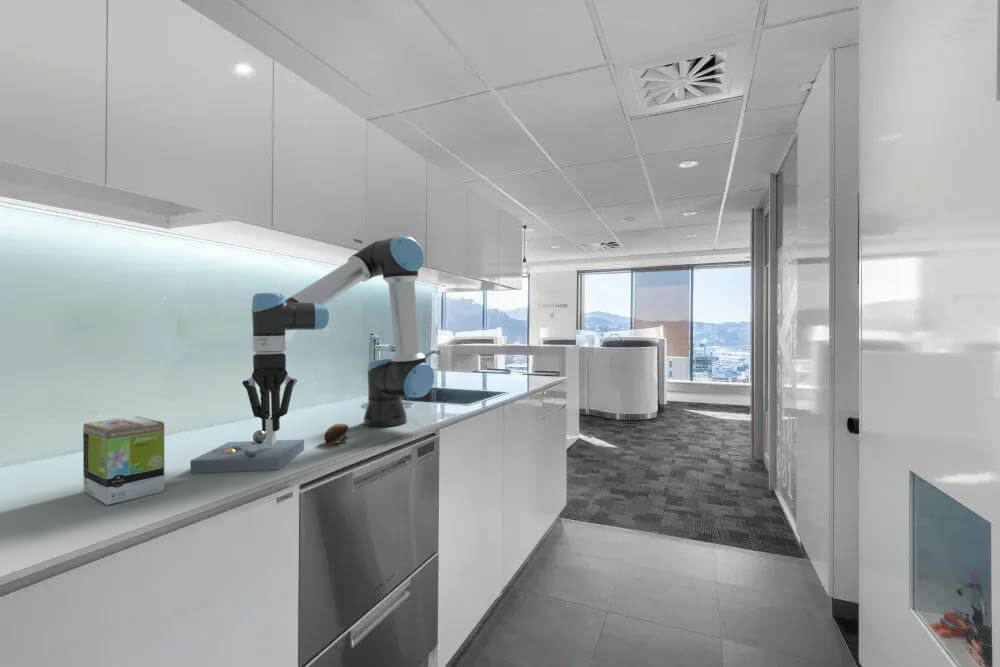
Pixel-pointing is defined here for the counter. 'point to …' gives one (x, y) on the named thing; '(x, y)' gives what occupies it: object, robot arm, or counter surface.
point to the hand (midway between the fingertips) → (271, 443)
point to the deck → (247, 457)
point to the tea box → (123, 458)
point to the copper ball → (230, 450)
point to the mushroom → (336, 434)
